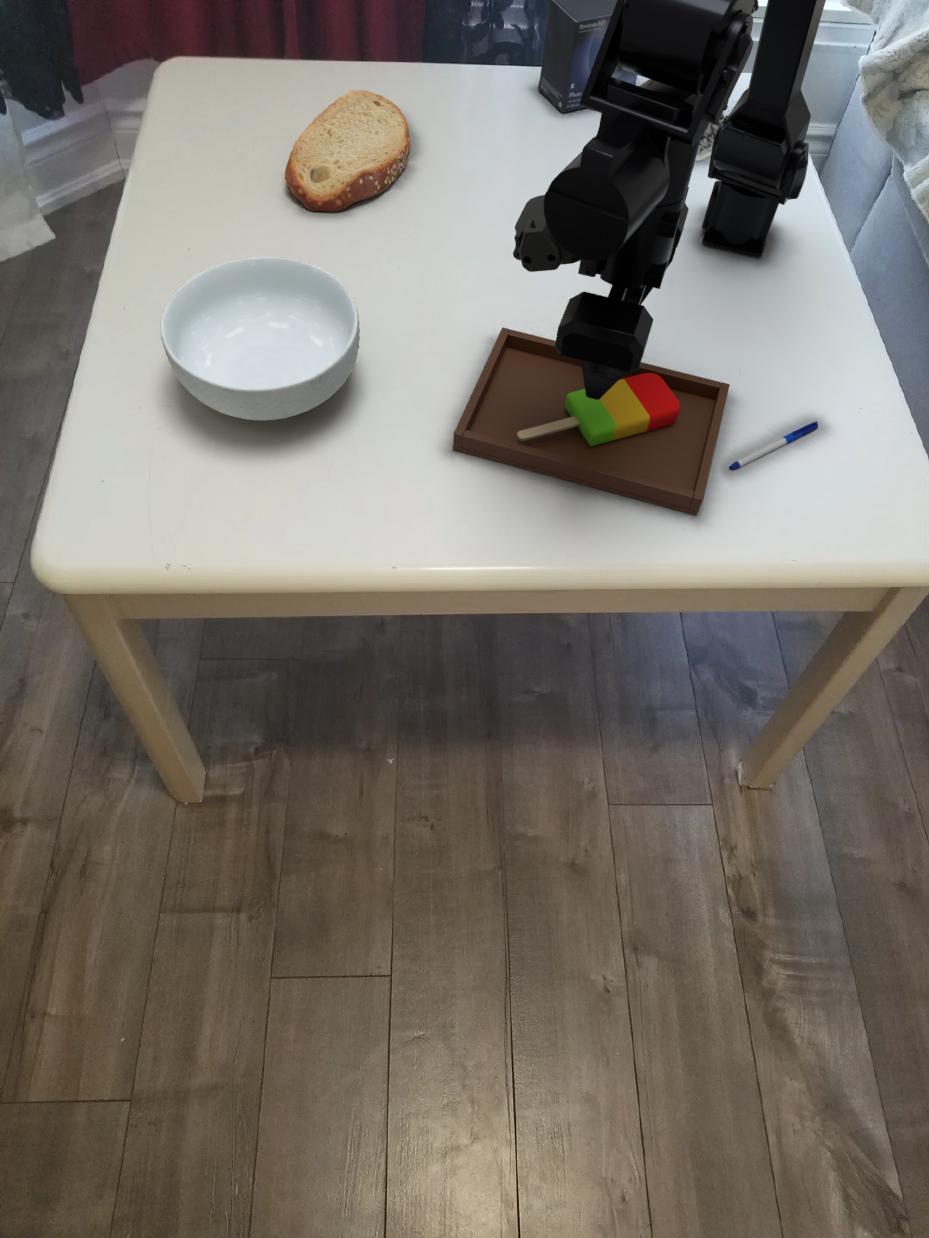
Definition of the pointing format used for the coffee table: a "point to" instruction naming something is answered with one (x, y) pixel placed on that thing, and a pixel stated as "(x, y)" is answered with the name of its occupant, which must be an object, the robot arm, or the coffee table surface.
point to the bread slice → (348, 152)
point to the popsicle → (616, 411)
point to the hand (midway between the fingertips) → (605, 360)
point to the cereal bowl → (261, 336)
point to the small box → (574, 49)
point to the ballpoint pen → (775, 445)
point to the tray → (535, 395)
